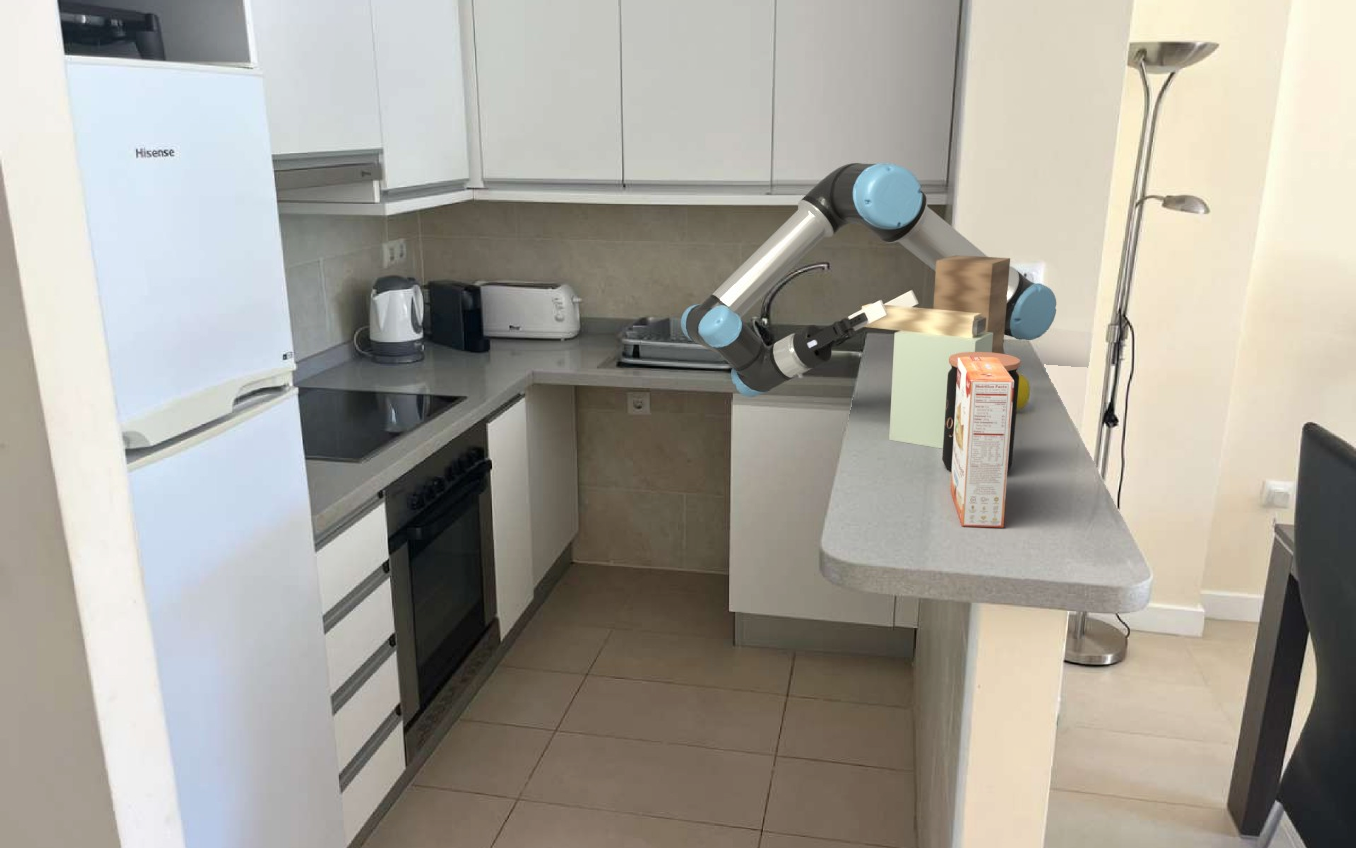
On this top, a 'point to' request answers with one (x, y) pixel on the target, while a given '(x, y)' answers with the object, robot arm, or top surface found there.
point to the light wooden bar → (931, 321)
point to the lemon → (1022, 392)
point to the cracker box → (981, 441)
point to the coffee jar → (1006, 360)
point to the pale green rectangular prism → (925, 383)
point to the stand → (975, 290)
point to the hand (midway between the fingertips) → (900, 301)
